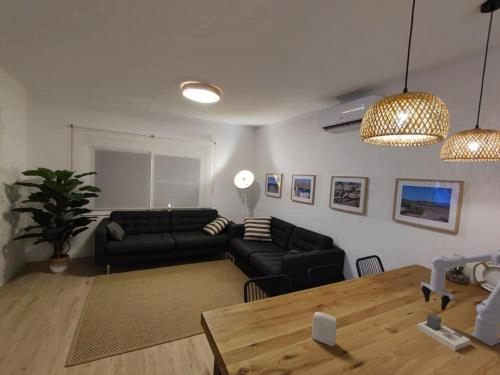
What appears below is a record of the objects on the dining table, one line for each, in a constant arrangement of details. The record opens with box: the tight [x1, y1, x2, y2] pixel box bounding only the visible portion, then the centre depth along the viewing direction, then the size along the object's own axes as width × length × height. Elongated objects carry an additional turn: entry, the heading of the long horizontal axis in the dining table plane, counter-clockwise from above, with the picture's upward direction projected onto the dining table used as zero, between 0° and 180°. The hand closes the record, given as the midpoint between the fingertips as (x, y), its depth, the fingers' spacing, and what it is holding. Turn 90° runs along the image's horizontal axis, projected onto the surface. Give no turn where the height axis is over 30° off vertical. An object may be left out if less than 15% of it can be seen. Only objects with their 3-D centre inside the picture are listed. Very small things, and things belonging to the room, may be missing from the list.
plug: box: [426, 313, 442, 331], centre depth 117 cm, size 4×4×7 cm
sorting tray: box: [416, 320, 471, 352], centre depth 114 cm, size 12×16×3 cm
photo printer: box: [311, 311, 338, 347], centre depth 105 cm, size 10×4×12 cm, turn 61°
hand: (434, 305), depth 123 cm, fingers open, 7 cm apart
